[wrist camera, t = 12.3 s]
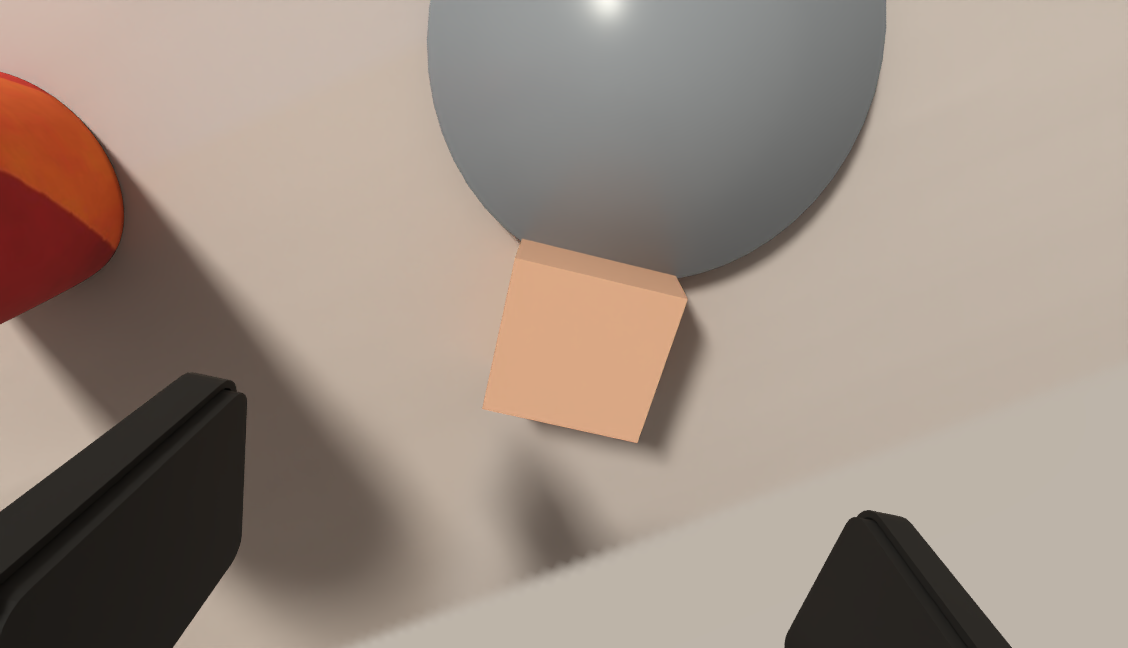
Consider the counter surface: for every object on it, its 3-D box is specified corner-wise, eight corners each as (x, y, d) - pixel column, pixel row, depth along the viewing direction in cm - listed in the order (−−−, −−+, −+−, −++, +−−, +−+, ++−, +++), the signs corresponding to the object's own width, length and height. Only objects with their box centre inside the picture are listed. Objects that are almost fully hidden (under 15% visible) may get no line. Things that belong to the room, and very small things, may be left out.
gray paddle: (477, -273, 11) (450, -365, 9) (951, -127, 12) (1041, -178, 10) (392, 340, 16) (361, 382, 14) (726, 415, 17) (749, 467, 15)
